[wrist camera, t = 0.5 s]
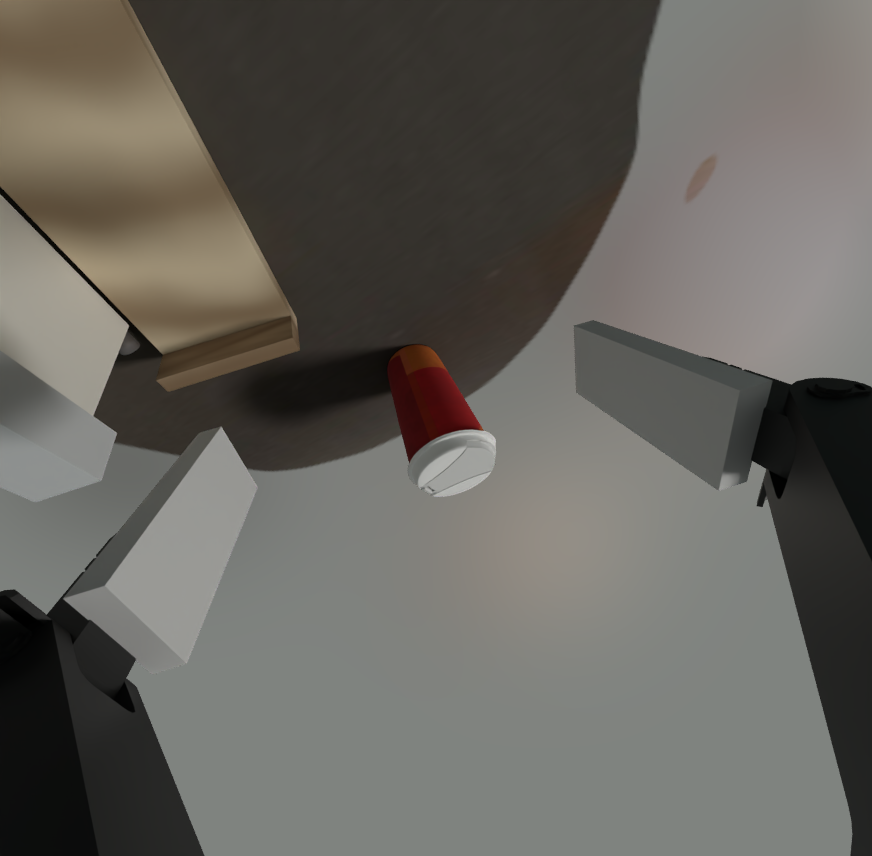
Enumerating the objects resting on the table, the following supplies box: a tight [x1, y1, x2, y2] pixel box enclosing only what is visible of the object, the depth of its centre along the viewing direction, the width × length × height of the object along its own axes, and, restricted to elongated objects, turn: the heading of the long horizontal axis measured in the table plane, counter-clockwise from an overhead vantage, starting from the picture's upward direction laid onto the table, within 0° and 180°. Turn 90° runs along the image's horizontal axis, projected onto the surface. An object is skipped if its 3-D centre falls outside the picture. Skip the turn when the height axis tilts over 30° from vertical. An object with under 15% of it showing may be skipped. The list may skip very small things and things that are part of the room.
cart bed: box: [0, 0, 300, 392], centre depth 20 cm, size 22×12×4 cm, turn 9°
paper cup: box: [387, 344, 496, 497], centre depth 34 cm, size 8×8×14 cm
